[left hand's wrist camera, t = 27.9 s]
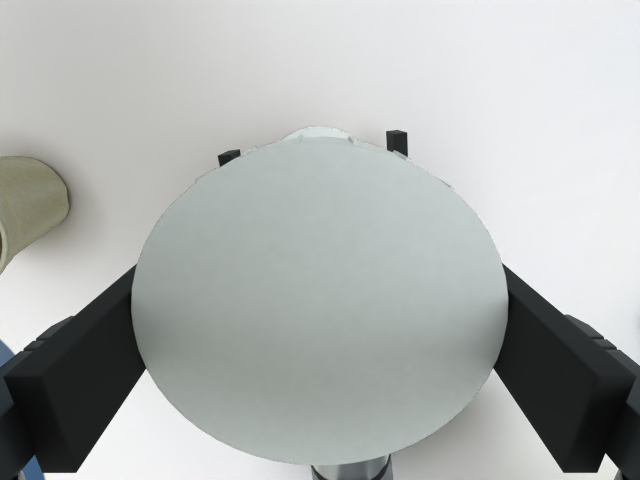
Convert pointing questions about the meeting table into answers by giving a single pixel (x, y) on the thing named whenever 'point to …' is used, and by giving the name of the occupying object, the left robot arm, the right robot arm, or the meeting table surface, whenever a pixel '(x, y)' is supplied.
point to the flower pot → (28, 204)
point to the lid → (319, 302)
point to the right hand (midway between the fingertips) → (311, 142)
